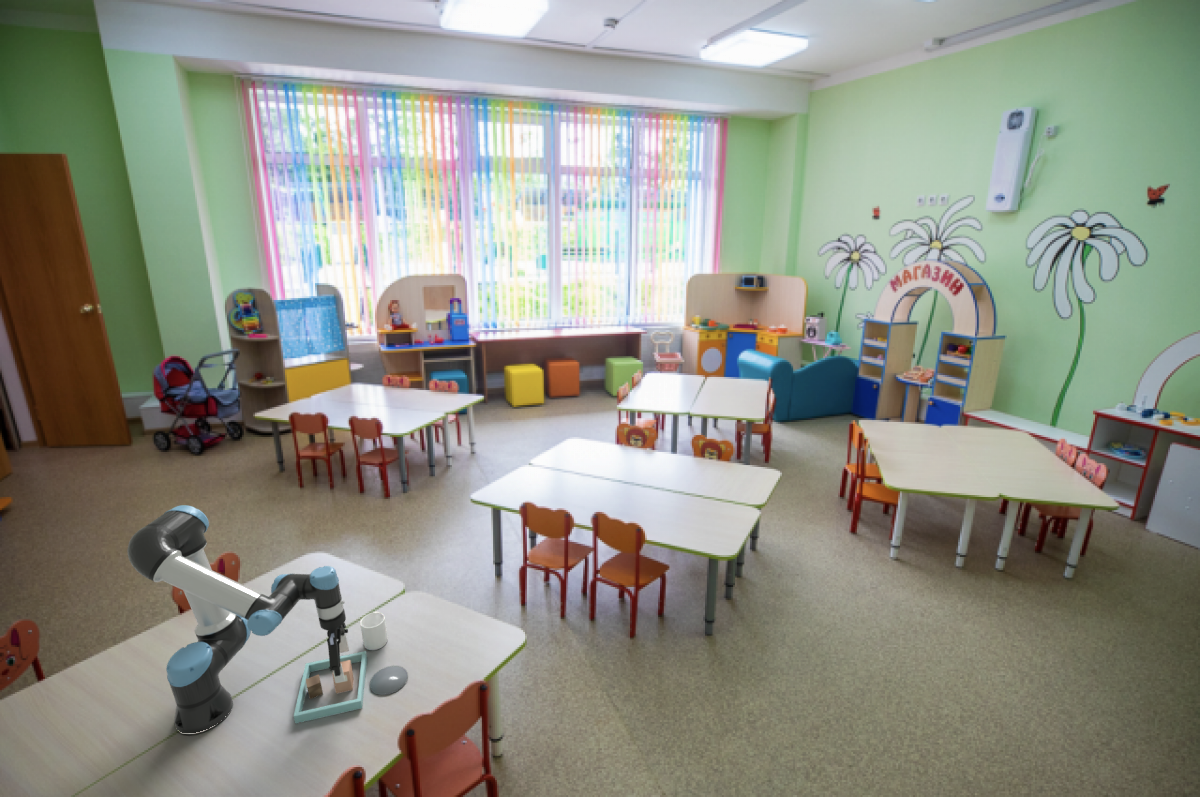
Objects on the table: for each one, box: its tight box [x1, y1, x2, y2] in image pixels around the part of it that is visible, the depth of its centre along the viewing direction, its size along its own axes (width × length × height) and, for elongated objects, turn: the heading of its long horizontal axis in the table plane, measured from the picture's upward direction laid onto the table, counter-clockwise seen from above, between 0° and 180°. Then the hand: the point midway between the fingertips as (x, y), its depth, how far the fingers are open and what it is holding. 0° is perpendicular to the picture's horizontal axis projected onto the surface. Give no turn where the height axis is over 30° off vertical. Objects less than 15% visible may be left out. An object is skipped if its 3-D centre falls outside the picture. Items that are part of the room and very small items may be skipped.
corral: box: [293, 650, 368, 724], centre depth 190 cm, size 19×22×3 cm
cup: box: [359, 611, 389, 651], centre depth 210 cm, size 8×12×10 cm
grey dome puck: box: [369, 665, 409, 696], centre depth 193 cm, size 12×12×1 cm
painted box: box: [332, 660, 355, 694], centre depth 190 cm, size 5×5×8 cm
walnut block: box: [306, 674, 324, 700], centre depth 188 cm, size 4×4×5 cm
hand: (342, 665), depth 188 cm, fingers open, 13 cm apart
